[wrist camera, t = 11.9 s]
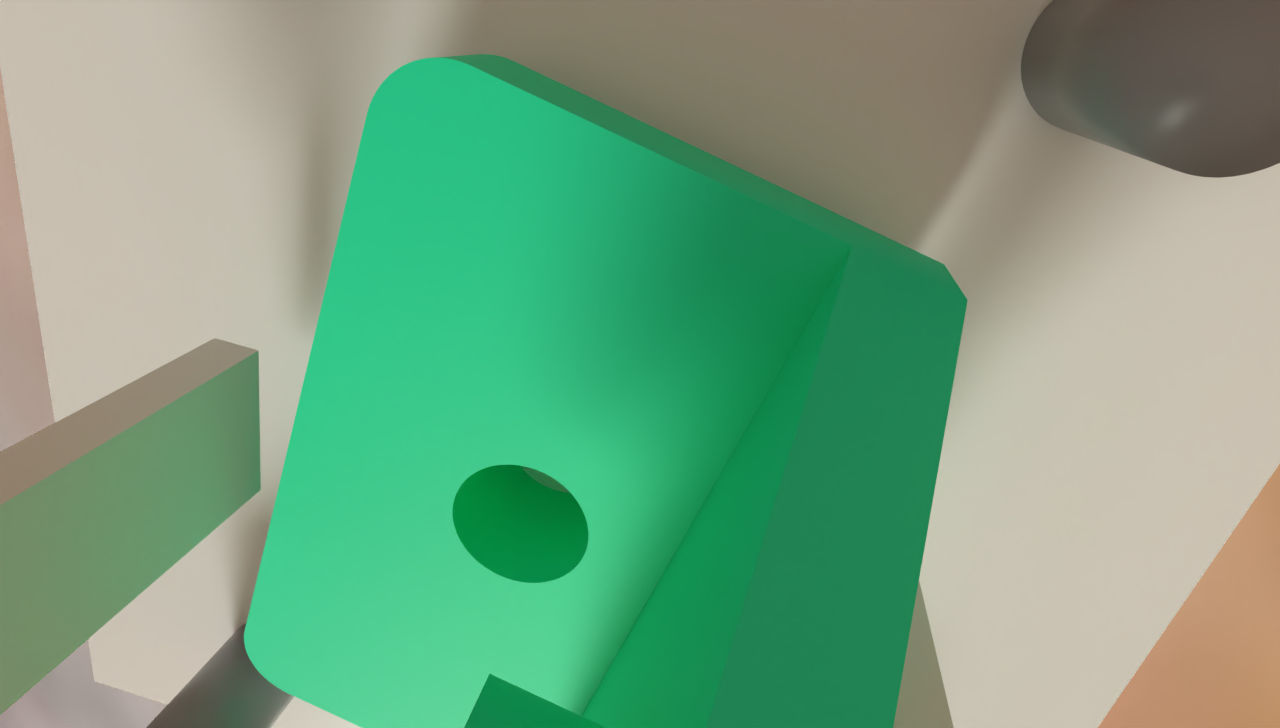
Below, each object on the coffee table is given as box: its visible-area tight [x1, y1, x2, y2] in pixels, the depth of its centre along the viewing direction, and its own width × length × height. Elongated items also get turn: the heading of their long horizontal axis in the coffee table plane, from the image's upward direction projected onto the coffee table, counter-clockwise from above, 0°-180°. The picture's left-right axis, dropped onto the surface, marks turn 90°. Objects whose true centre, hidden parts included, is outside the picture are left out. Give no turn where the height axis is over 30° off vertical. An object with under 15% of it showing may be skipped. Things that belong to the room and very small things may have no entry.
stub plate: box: [0, 0, 1280, 728], centre depth 13 cm, size 22×22×5 cm
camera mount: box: [244, 54, 968, 728], centre depth 9 cm, size 12×8×10 cm, turn 157°
